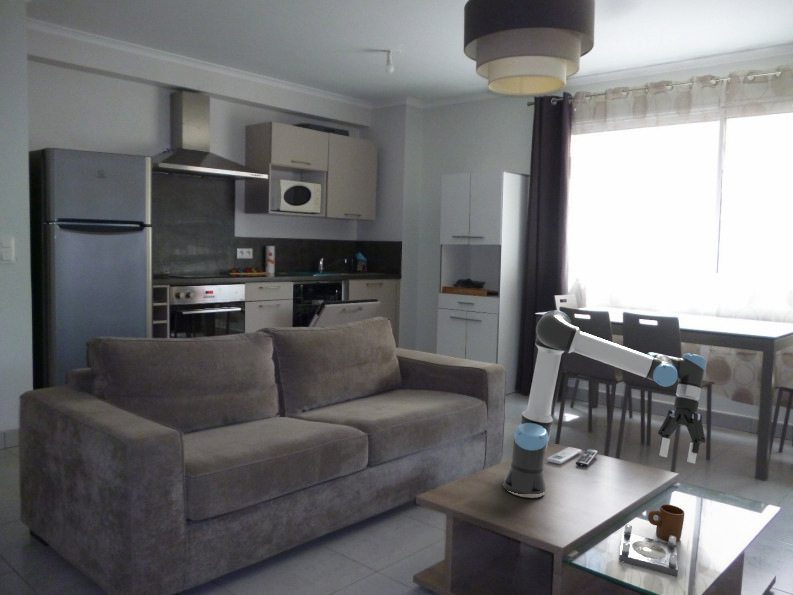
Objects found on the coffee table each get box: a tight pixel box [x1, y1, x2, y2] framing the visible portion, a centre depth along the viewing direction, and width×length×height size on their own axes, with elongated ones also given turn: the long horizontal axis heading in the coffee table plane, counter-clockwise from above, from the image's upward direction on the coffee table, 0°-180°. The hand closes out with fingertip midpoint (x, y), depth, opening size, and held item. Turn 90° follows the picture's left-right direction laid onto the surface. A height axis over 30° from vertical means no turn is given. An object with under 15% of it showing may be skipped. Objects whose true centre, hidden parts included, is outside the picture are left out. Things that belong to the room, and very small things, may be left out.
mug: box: [647, 504, 685, 542], centre depth 212 cm, size 12×8×9 cm, turn 102°
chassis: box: [618, 523, 679, 577], centre depth 199 cm, size 16×16×5 cm
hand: (676, 459), depth 224 cm, fingers open, 13 cm apart
